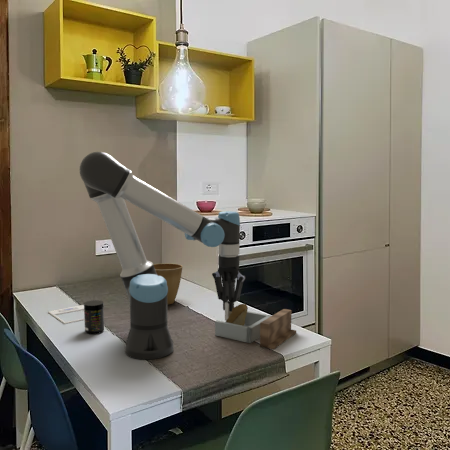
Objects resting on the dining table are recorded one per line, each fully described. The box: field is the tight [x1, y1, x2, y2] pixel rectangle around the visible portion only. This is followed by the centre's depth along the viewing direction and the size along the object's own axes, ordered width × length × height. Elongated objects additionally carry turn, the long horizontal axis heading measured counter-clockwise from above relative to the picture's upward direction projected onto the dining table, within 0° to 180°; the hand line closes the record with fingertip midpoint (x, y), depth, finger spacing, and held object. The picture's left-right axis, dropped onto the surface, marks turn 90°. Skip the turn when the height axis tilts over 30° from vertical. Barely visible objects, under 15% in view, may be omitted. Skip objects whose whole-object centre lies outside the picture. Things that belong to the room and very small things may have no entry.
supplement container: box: [83, 299, 105, 335], centre depth 166 cm, size 7×7×10 cm
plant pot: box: [153, 262, 183, 306], centre depth 203 cm, size 15×15×16 cm
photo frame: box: [47, 304, 84, 325], centre depth 186 cm, size 15×1×18 cm
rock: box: [225, 303, 249, 326], centre depth 169 cm, size 11×9×10 cm
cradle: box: [214, 310, 272, 344], centre depth 167 cm, size 16×14×5 cm
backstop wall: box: [259, 308, 297, 350], centre depth 160 cm, size 18×5×8 cm, turn 148°
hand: (228, 319), depth 170 cm, fingers closed
